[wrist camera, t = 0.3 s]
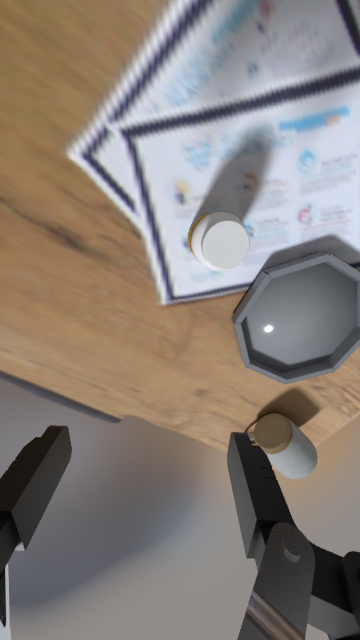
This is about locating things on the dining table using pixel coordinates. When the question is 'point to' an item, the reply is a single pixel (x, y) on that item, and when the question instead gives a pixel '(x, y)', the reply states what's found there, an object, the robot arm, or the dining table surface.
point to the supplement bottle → (218, 241)
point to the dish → (300, 318)
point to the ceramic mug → (285, 446)
